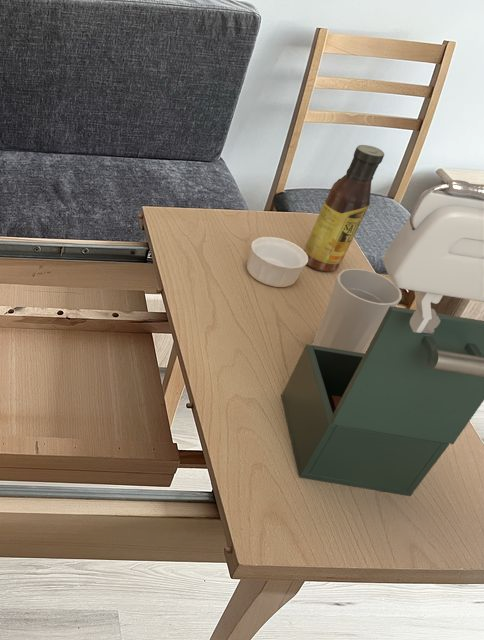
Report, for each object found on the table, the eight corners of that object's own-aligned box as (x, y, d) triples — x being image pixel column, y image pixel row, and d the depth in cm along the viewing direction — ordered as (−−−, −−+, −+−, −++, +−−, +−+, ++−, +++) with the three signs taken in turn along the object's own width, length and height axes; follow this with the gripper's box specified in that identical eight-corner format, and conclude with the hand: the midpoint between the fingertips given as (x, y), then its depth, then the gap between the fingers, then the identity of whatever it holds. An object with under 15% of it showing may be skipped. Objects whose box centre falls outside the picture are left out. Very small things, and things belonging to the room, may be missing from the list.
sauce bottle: (329, 278, 112) (383, 164, 99) (293, 261, 115) (341, 148, 102) (344, 264, 116) (398, 152, 103) (310, 248, 119) (358, 137, 106)
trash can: (280, 395, 89) (306, 343, 83) (379, 411, 89) (411, 360, 83) (299, 477, 79) (329, 424, 73) (410, 496, 78) (449, 444, 73)
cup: (357, 383, 92) (398, 312, 85) (298, 360, 95) (332, 289, 87) (366, 351, 98) (405, 282, 90) (310, 330, 101) (343, 261, 93)
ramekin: (276, 255, 116) (285, 233, 113) (310, 286, 110) (320, 263, 107) (232, 262, 113) (240, 239, 110) (264, 293, 107) (274, 270, 104)
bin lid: (389, 305, 64) (405, 335, 60) (527, 327, 64) (552, 359, 60) (330, 419, 73) (340, 451, 69) (450, 439, 73) (467, 472, 69)
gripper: (445, 195, 50) (363, 341, 59) (734, 240, 49) (607, 381, 58) (418, 158, 55) (347, 298, 64) (681, 199, 54) (571, 335, 63)
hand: (473, 338), depth 61 cm, fingers open, 8 cm apart
